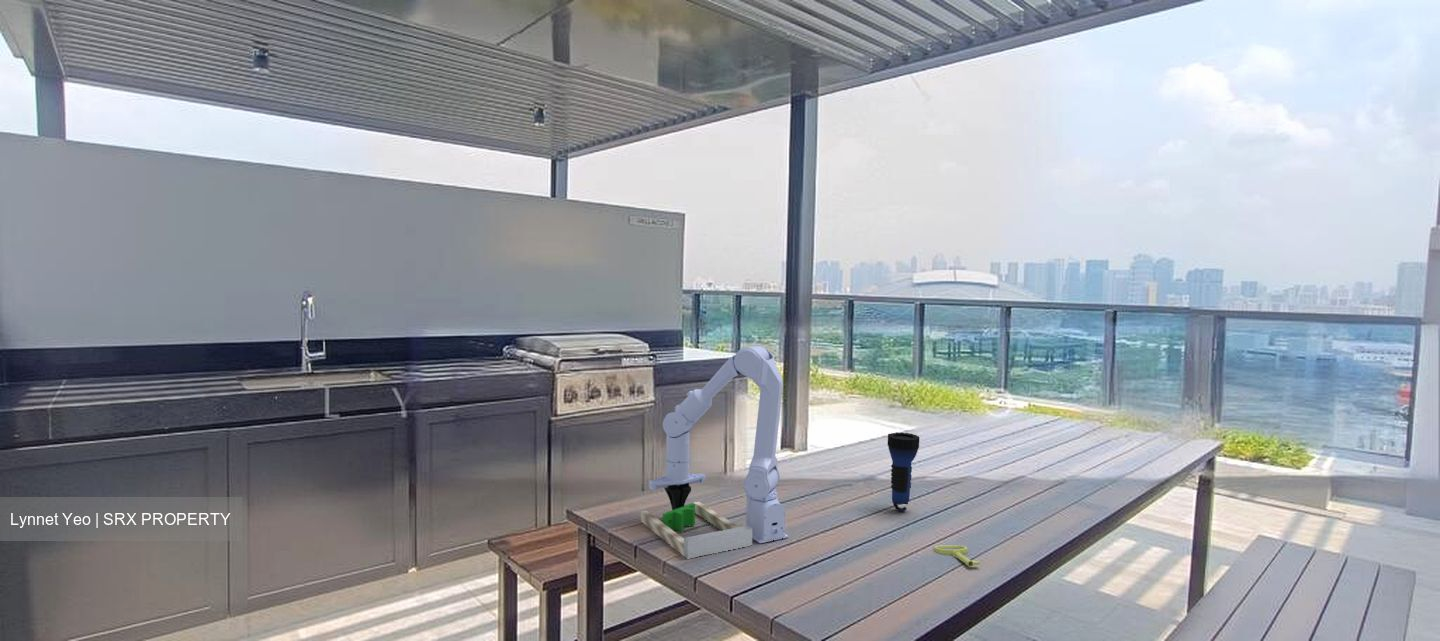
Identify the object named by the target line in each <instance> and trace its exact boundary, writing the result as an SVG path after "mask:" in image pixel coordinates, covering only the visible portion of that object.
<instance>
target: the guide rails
mask: <svg viewBox="0 0 1440 641" xmlns="http://www.w3.org/2000/svg"><path fill="white" fill-rule="evenodd" d="M693 504H695V513H696V514H695V515H697V514H698V515H700V516H701V517H700V516H699V517H700V518H702V517H703V518H704V519H703V518H702V519H703V520H705V521H706V520H707V521H706V522H708V523H709V522H710V523H709V524H711V525H712V524H713V525H712V526H714V527H715V526H716V527H715V528H716V529H718V528H719V529H718V530H719V531H721V530H727V529H732V528H737V527H740V526H739V525H737V524H735V523H734V522H732V521H730V520H729V519H728V518H726V517H725V516H722V515H721V514H719V513H717V512H716V511H715V510H713V509H711V508H710V507H709V506H707V505H705V504H703V503H702V502H700V501H694V502H693ZM698 515H697V516H698ZM640 522H641V523H643V525H645V526H646V527H647V528H648V529H650V530H651V531H652V532H653V533H655V535H657V536H659V537H660V538H661V539H662V540H663V541H664V540H665V541H664V542H665V543H666V544H668V545H669V544H670V545H669V546H670V547H672V548H673V549H674V548H675V549H676V550H675V549H674V550H675V551H677V552H678V553H679V552H680V553H681V554H680V553H679V554H680V555H681V556H682V557H684V538H685V537H682V536H681V535H680V534H679V533H677V532H676V531H674V529H673V530H672V529H670V528H669V527H668V526H667V525H665V524H664V523H663V521H661V520H660V519H659V518H657V516H655V515H654V514H652V513H651V512H650V511H649V510H641V511H640Z"/></svg>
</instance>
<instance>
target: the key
mask: <svg viewBox="0 0 1440 641" xmlns="http://www.w3.org/2000/svg"><path fill="white" fill-rule="evenodd" d="M933 551H934V552H935V553H937V554H940V555H944V556H952V557H953V558H955V559H956V558H957V559H958V560H960V561H961V562H963V563H964V564H965V565H967V566H968V567H969V568H970V567H971V568H972V567H974V565H975V566H976V565H977V566H978V565H981V562H980V561H978V560H971V559H969V558H968V557H967V556H965V555H967V554H968V551H969V550H968V547H967V546H965V545H959V544H958V545H955V544H950V545H949V544H943V545H942V544H941V545H940V544H938V545H935V546H933Z"/></svg>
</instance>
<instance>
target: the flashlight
mask: <svg viewBox="0 0 1440 641" xmlns="http://www.w3.org/2000/svg"><path fill="white" fill-rule="evenodd" d="M887 447H888V448H887V449H888V452H889V454H890V457H891V460H892V464H891V469H890V471H891V473H890V476H891V477H890V479H891V480H890V483H891V486H890V488H891V502H892V504H893V507H894V508H895V510H897V511H898V512H905V511H907V507H906V506H904V507H899V506H898V505H909V502H910V494H911V487H912V482H911V481H912V472H913V469H912V468H913V466H912V462H913V461H914V459H915V458H916V456H917V454H918V451H919V449H920V436H919V435H917V434H914V433H909V432H893V433H891V432H890V433H888V434H887Z"/></svg>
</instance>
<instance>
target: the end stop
mask: <svg viewBox="0 0 1440 641" xmlns="http://www.w3.org/2000/svg"><path fill="white" fill-rule="evenodd" d="M683 538H684V556H685V557H686V558H688V559H689V558H693V557H696V556H701V555H707V554H712V553H717V554H719V553H718V552H722V551H726V552H729V551H728V550H731V551H734V550H733V549H736V550H739V549H738V548H741V549H743V548H742V547H745V548H747V547H746V546H750V545H752V546H753V539H752V528H751V527H749V526H746V525H742V526H739V527H737V528H732V529H727V530H722V531H721V530H718V531H712V532H707V533H702V534H697V535H693V536H692V535H691V536H687V537H683ZM750 547H751V546H750ZM722 553H723V552H722ZM712 555H713V554H712ZM684 556H683V557H684ZM685 557H684V558H685ZM686 558H685V559H686ZM688 559H687V560H688ZM689 560H690V559H689Z"/></svg>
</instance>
